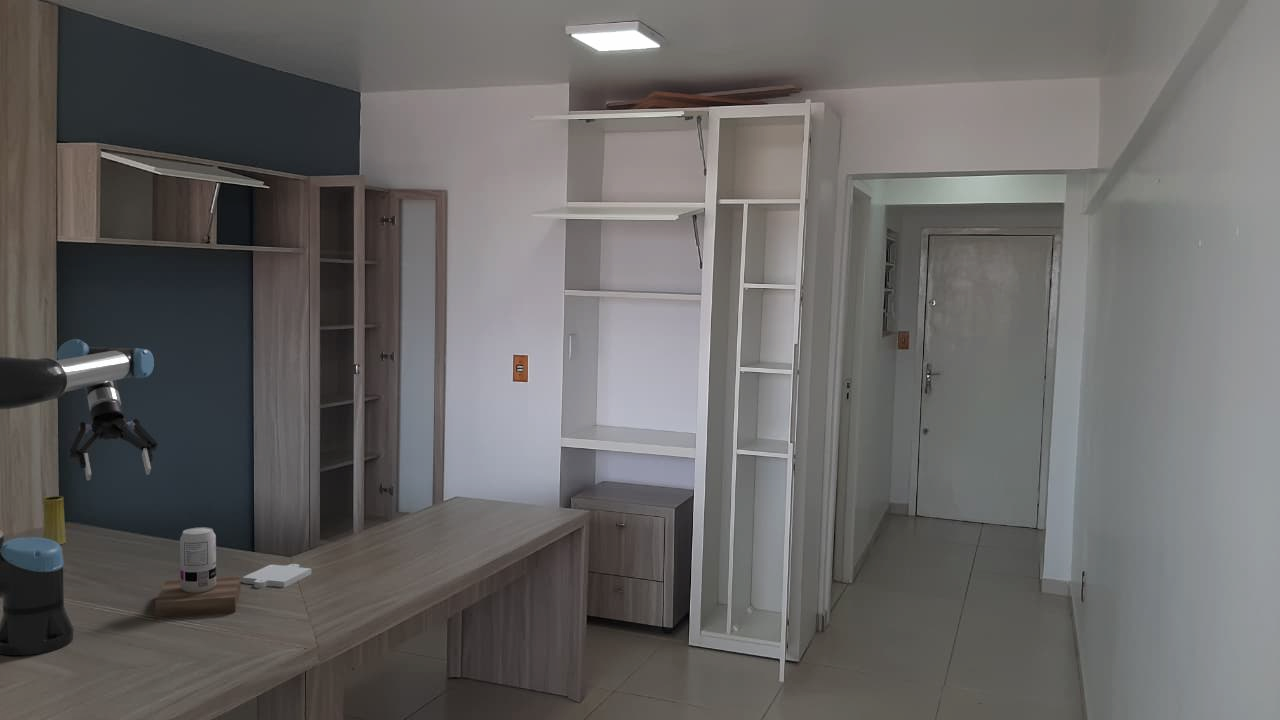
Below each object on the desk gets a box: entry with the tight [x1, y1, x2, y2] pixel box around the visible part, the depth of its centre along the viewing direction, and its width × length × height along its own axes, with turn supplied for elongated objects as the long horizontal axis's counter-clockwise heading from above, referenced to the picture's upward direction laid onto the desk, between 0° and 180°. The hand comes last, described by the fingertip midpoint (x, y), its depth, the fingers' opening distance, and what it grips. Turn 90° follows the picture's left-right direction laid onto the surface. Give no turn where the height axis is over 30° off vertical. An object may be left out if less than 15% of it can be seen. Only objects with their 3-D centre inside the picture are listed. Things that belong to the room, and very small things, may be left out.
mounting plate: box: [241, 563, 312, 589], centre depth 271 cm, size 18×13×2 cm
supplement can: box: [179, 527, 217, 593], centre depth 248 cm, size 8×8×15 cm
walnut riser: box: [154, 575, 241, 619], centre depth 248 cm, size 18×18×4 cm
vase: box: [43, 495, 67, 546], centre depth 299 cm, size 6×6×14 cm
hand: (119, 474), depth 247 cm, fingers open, 13 cm apart
